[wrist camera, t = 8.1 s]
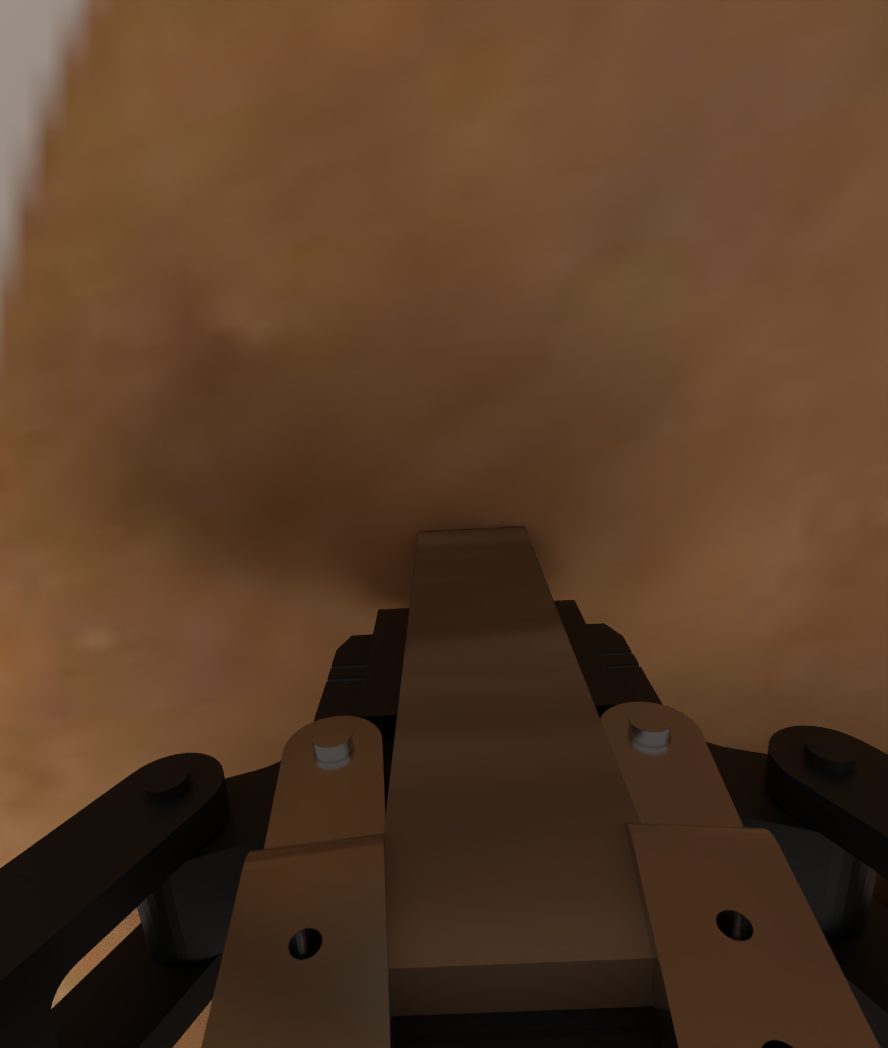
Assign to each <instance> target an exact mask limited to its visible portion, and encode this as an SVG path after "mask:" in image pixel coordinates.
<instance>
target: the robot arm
mask: <svg viewBox="0 0 888 1048" xmlns="http://www.w3.org/2000/svg"><path fill="white" fill-rule="evenodd" d="M554 603H555V606H556V608H557V611H558V613H559V616H560V618H561V621H562V624H563V626H564V629H565V631H566V634H567V636H568V639H569V641H570V644H571V646H572V649H573V652H574V654H575V657H576V659H577V662H578V664H579V667H580V669H581V672H582V674H583V677H584V679H585V682H586V685H587V687H588V690H589V692H590V695H591V697H592V700H593V702H594V705H595V707H596V710H597V712H598V715H599V718H600V720H601V723H602V725H603V728H604V730H605V733H606V735H607V738H608V740H609V743H610V746H611V748H612V751H613V753H614V756H615V758H616V761H617V763H618V766H619V768H620V771H621V773H622V776H623V779H624V781H625V784H626V786H627V789H628V791H629V794H630V796H631V799H632V801H633V804H634V807H635V809H636V812H637V814H638V817H639V819H640V822H641V823H631V822H624V824H625V829H626V833H627V838H628V843H629V848H630V852H631V857H632V862H633V866H634V871H635V876H636V881H637V885H638V890H639V895H640V900H641V904H642V909H643V914H644V919H645V923H646V928H647V933H648V938H649V942H650V947H651V952H652V957H653V963H652V977H651V991H652V996H653V1001H654V1006H646V1007H620V1008H594V1009H568V1010H542V1011H517V1012H491V1013H465V1014H439V1015H413V1016H393V1000H392V989H391V980H390V971H389V948H388V921H387V894H386V866H385V839H384V825H385V817H386V808H387V800H388V791H389V782H390V774H391V765H392V757H393V748H394V739H395V731H396V722H397V714H398V705H399V696H400V688H401V679H402V671H403V662H404V653H405V645H406V636H407V628H408V619H409V610H410V608H400V609H380V610H378V614H377V619H376V623H375V628H374V632H373V635H356V636H351V637H350V638H349V639H348V640H347V641H346V642H345V643H344V644H342V645H341V646H340V647H339V648H338V649H337V651H336V654H335V657H334V660H333V663H332V669H330V672H329V675H328V678H327V679H328V682H326V685H325V688H324V691H323V694H322V697H321V700H320V703H319V706H318V709H317V712H316V715H315V719H314V722H312V723H310V724H308V725H306V726H304V727H302V728H301V729H299V730H298V731H297V732H296V733H294V734H293V735H292V736H291V738H290V739H289V740H288V741H287V743H286V745H285V747H284V750H283V755H282V760H281V761H280V762H278V763H276V764H273V765H271V766H268V767H266V768H262V769H259V770H256V771H252V772H248V773H245V774H241V775H237V776H233V777H230V778H226V779H225V777H224V772H223V768H222V766H221V764H220V763H219V761H217V760H216V759H215V758H213V757H211V756H209V755H205V754H201V753H183V754H176V755H172V756H167V757H164V758H161V759H158V760H156V761H154V762H151V763H149V764H147V765H145V766H143V767H141V768H140V769H138V770H137V771H135V772H134V773H132V774H131V775H129V776H128V777H127V778H125V779H124V780H122V781H121V782H120V783H118V784H117V785H115V786H114V787H113V788H111V789H110V790H109V791H107V792H106V793H104V794H103V795H102V796H100V797H99V798H97V799H96V800H95V801H93V802H92V803H90V804H89V805H88V806H86V807H85V808H84V809H82V810H81V811H79V812H78V813H77V814H75V815H74V816H72V817H71V818H70V819H68V820H67V821H65V822H64V823H63V824H61V825H60V826H59V827H57V828H56V829H54V830H53V831H52V832H50V833H49V834H47V835H46V836H45V837H43V838H42V839H41V840H39V841H38V842H36V843H35V844H34V845H32V846H31V847H29V848H28V849H27V850H25V851H24V852H22V853H21V854H20V855H18V856H17V857H16V858H14V859H13V860H11V861H10V862H9V863H7V864H6V865H4V866H3V867H2V868H0V1048H172V1047H173V1046H174V1045H175V1044H176V1043H177V1041H178V1040H179V1039H180V1038H181V1036H182V1035H183V1034H184V1033H185V1032H186V1030H187V1029H188V1028H189V1027H190V1025H191V1024H192V1023H193V1022H194V1021H195V1019H196V1018H197V1017H198V1016H199V1015H200V1013H201V1012H202V1011H203V1010H204V1008H205V1007H206V1006H207V1005H208V1004H209V1002H210V1001H211V1000H212V999H213V1000H212V1004H211V1008H210V1013H209V1017H208V1021H207V1026H206V1030H205V1034H204V1039H203V1043H202V1047H201V1048H880V1046H879V1044H880V1045H881V1046H882V1047H883V1048H888V909H887V908H886V907H884V906H883V905H881V904H880V903H879V902H877V901H876V900H875V899H873V898H872V895H873V890H874V885H875V880H876V875H877V873H879V874H880V875H882V876H883V877H885V878H886V879H887V880H888V754H886V753H884V752H882V751H880V750H878V749H876V748H874V747H872V746H870V745H869V744H867V743H865V742H863V741H861V740H859V739H857V738H855V737H852V736H850V735H847V734H845V733H842V732H839V731H835V730H832V729H827V728H823V727H816V726H792V727H787V728H784V729H781V730H779V731H778V732H776V733H774V735H773V736H772V737H771V738H770V741H769V746H768V754H762V753H756V752H750V751H744V750H738V749H732V748H727V747H722V746H718V745H714V744H711V743H708V742H706V741H705V739H704V737H703V735H702V733H701V731H700V729H699V727H698V726H697V725H696V723H695V722H694V721H693V720H692V719H690V718H689V717H688V716H686V715H685V714H683V713H681V712H680V711H677V710H675V709H673V708H670V707H668V706H665V705H663V704H662V703H661V701H660V699H659V698H658V696H657V694H656V692H655V691H654V689H653V687H652V686H651V684H650V682H649V680H648V679H647V677H646V675H645V674H644V672H643V670H642V668H641V667H639V663H638V662H637V660H636V658H635V656H634V655H633V654H632V653H631V650H630V648H629V646H628V644H627V643H626V641H625V639H624V638H623V636H622V635H620V634H619V633H617V632H616V631H614V630H613V629H611V628H610V627H608V626H607V625H605V624H604V623H603V624H586V623H585V621H584V619H583V617H582V615H581V613H580V611H579V608H578V606H577V604H576V602H575V601H574V600H564V601H554ZM136 907H137V909H138V912H139V916H140V920H141V923H140V924H139V925H138V926H137V927H136V928H135V929H134V930H133V931H132V932H131V933H130V934H129V935H128V936H127V937H126V938H125V939H124V940H123V941H122V942H121V943H120V944H119V945H118V946H117V947H115V948H114V949H113V950H112V951H111V952H110V953H109V954H108V955H107V956H106V957H105V958H104V959H103V960H102V961H101V962H100V963H99V964H98V965H97V966H96V967H95V968H94V969H93V970H92V971H91V972H90V973H89V974H88V975H86V976H85V977H84V978H83V979H82V980H81V981H80V982H79V983H78V984H77V985H76V986H75V987H74V988H73V989H72V990H71V991H70V992H69V993H68V994H67V995H66V996H65V997H64V998H63V999H62V1000H61V1001H60V1002H58V1003H57V1004H56V1005H55V1006H54V1007H53V1008H52V1009H51V1006H52V1002H53V999H54V996H55V994H56V992H57V989H58V988H59V986H60V984H61V982H62V981H63V979H64V978H65V976H66V975H67V974H68V973H69V971H70V970H71V969H72V968H73V967H74V966H75V965H76V964H77V963H78V962H79V961H80V960H81V959H82V958H83V957H84V956H85V955H86V954H87V953H88V952H89V951H90V950H92V949H93V948H94V947H95V946H96V945H97V944H98V943H99V942H100V941H101V940H102V939H103V938H104V937H105V936H107V935H108V934H109V933H110V932H111V931H112V930H113V929H114V928H115V927H116V926H117V925H118V924H119V923H120V922H122V921H123V920H124V919H125V918H126V917H127V916H128V915H129V914H130V913H131V912H132V911H133V910H134V909H135V908H136ZM878 1043H879V1044H878Z"/></svg>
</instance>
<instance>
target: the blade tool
mask: <svg viewBox="0 0 888 1048" xmlns="http://www.w3.org/2000/svg"><path fill="white" fill-rule="evenodd" d="M624 822H631V823H641V822H640V819H639V817H638V814H637V812H636V809H635V807H634V804H633V801H632V799H631V796H630V794H629V791H628V789H627V786H626V784H625V781H624V779H623V776H622V773H621V771H620V768H619V766H618V763H617V761H616V758H615V756H614V753H613V751H612V748H611V746H610V743H609V740H608V738H607V735H606V733H605V730H604V728H603V725H602V723H601V720H600V718H599V715H598V712H597V710H596V707H595V705H594V702H593V700H592V697H591V695H590V692H589V690H588V687H587V685H586V682H585V679H584V677H583V674H582V672H581V669H580V667H579V664H578V662H577V659H576V657H575V654H574V652H573V649H572V646H571V644H570V641H569V639H568V636H567V634H566V631H565V629H564V626H563V624H562V621H561V618H560V616H559V613H558V611H557V608H556V606H555V603H554V601H553V598H552V596H551V593H550V591H549V588H548V585H547V583H546V580H545V578H544V575H543V573H542V570H541V568H540V565H539V563H538V560H537V557H536V555H535V552H534V550H533V547H532V545H531V542H530V540H529V537H528V535H527V532H526V530H525V527H511V528H491V529H471V530H451V531H431V532H419V533H418V542H417V550H416V559H415V567H414V576H413V585H412V593H411V602H410V610H409V619H408V628H407V636H406V645H405V653H404V662H403V671H402V679H401V688H400V696H399V705H398V714H397V722H396V731H395V739H394V748H393V757H392V765H391V774H390V782H389V791H388V800H387V808H386V817H385V825H384V839H385V866H386V894H387V921H388V948H389V971H390V980H391V989H392V1000H393V1016H413V1015H439V1014H465V1013H491V1012H517V1011H542V1010H568V1009H594V1008H620V1007H646V1006H654V1001H653V996H652V991H651V977H652V963H653V957H652V952H651V947H650V942H649V938H648V933H647V928H646V923H645V919H644V914H643V909H642V904H641V900H640V895H639V890H638V885H637V881H636V876H635V871H634V866H633V862H632V857H631V852H630V848H629V843H628V838H627V833H626V829H625V824H624Z"/></svg>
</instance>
